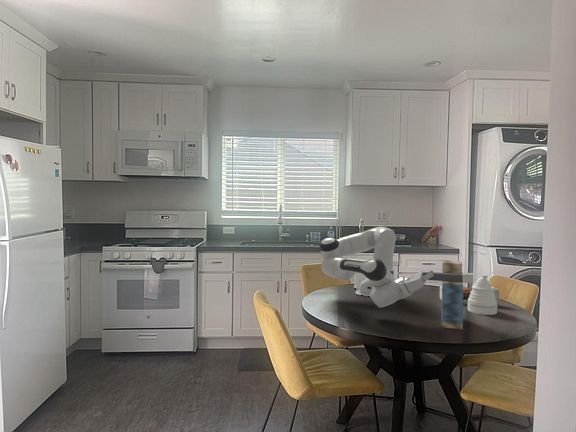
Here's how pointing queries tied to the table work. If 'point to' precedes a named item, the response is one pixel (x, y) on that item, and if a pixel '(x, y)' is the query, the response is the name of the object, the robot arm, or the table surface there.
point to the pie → (466, 292)
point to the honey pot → (482, 298)
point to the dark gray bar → (451, 277)
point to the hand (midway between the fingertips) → (433, 273)
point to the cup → (358, 279)
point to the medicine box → (496, 295)
